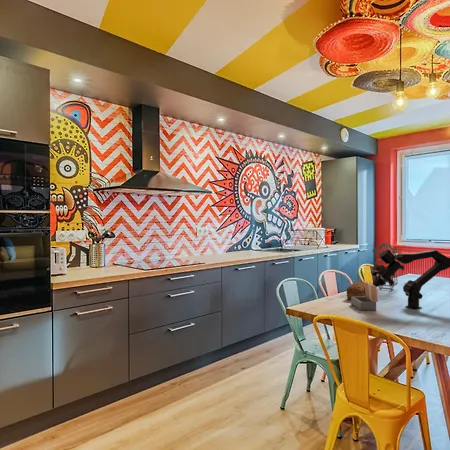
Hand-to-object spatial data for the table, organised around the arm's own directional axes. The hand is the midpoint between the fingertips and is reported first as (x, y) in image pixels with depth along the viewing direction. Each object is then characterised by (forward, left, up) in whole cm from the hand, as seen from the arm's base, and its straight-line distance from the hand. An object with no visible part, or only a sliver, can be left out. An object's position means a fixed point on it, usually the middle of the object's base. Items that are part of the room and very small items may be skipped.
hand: (371, 287), depth 205 cm
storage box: (+4, -2, -12) cm, 13 cm away
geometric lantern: (-53, -27, -12) cm, 61 cm away
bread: (-14, -20, -12) cm, 27 cm away
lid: (+1, 0, -2) cm, 3 cm away
